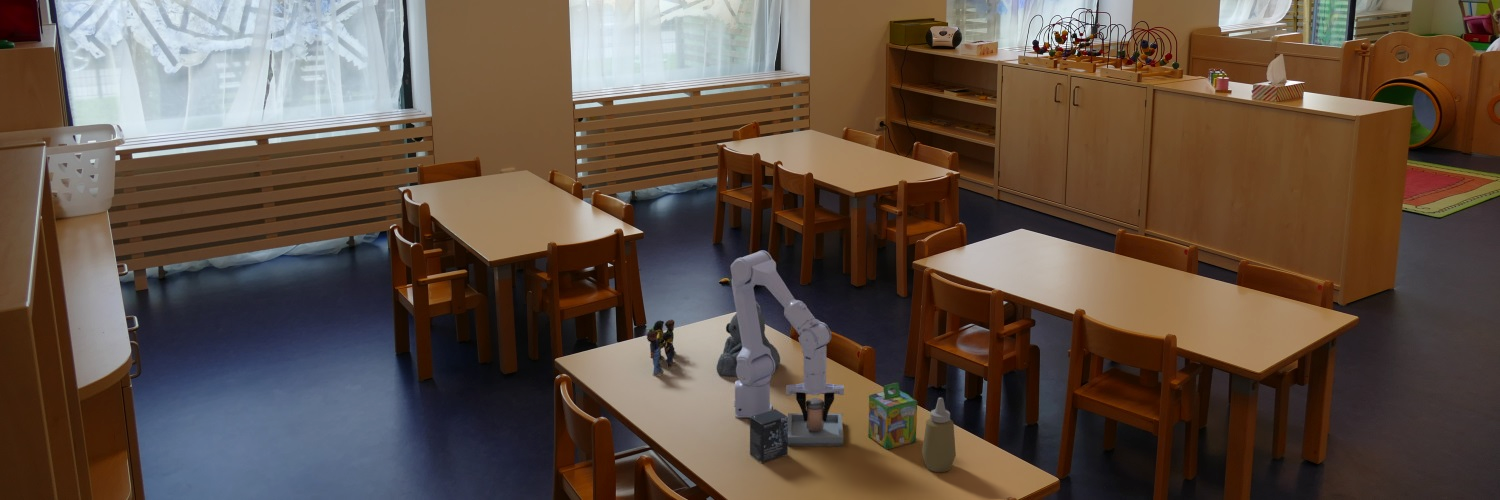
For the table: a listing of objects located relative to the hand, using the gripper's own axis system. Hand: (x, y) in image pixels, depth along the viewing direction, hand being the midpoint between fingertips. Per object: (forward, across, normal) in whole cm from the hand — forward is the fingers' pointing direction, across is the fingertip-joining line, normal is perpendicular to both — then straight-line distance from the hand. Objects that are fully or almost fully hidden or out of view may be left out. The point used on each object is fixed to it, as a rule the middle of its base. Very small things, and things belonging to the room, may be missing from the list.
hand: (814, 419), depth 300 cm
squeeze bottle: (+4, +30, -18) cm, 35 cm away
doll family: (+4, -44, +46) cm, 64 cm away
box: (+4, -12, -12) cm, 17 cm away
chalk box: (+4, +20, -3) cm, 20 cm away
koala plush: (+4, -18, +44) cm, 48 cm away
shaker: (+2, 0, 0) cm, 2 cm away
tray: (+4, 0, 0) cm, 4 cm away
